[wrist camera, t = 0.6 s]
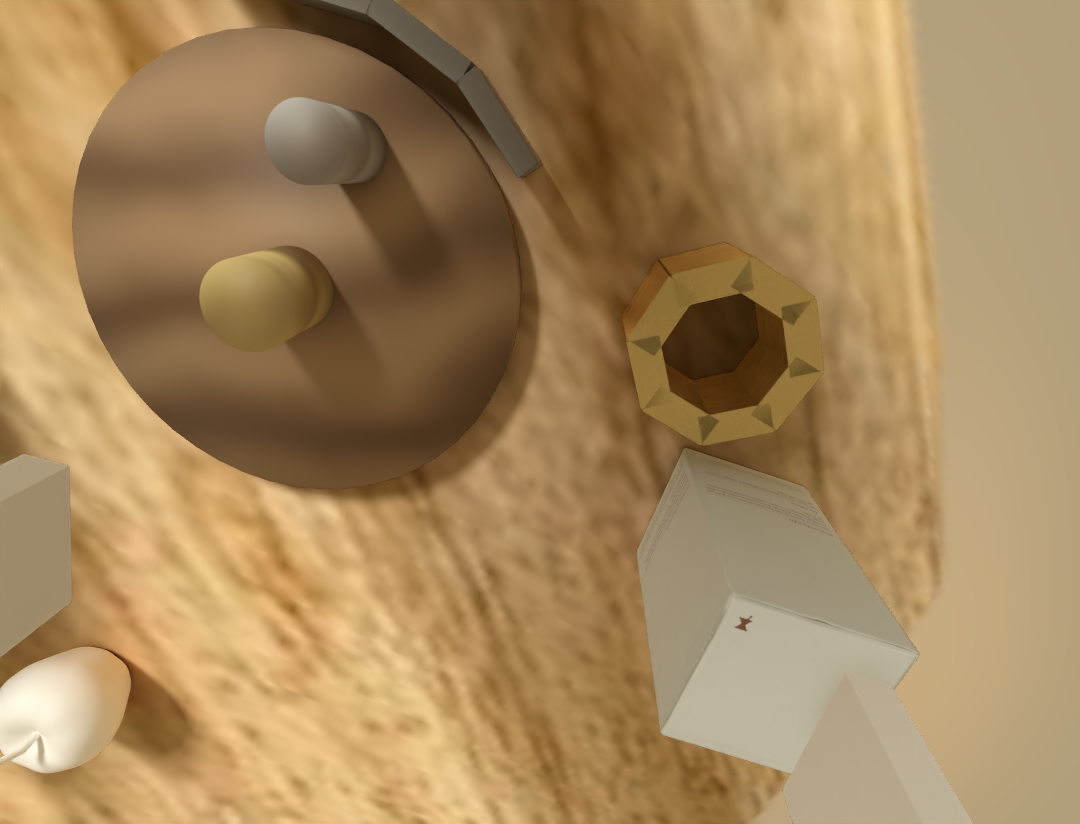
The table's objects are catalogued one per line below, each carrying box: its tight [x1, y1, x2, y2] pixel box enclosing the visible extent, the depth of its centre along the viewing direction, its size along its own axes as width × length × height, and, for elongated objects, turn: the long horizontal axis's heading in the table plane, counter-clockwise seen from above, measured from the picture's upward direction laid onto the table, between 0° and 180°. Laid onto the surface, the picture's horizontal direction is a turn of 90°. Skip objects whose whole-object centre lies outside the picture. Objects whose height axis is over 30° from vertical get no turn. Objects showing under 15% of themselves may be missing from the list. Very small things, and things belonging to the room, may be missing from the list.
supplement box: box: [637, 448, 919, 774], centre depth 29 cm, size 7×7×13 cm
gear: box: [621, 243, 824, 446], centre depth 29 cm, size 8×8×5 cm
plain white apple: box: [0, 647, 131, 773], centre depth 39 cm, size 7×7×8 cm
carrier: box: [72, 0, 542, 489], centre depth 28 cm, size 23×24×7 cm
